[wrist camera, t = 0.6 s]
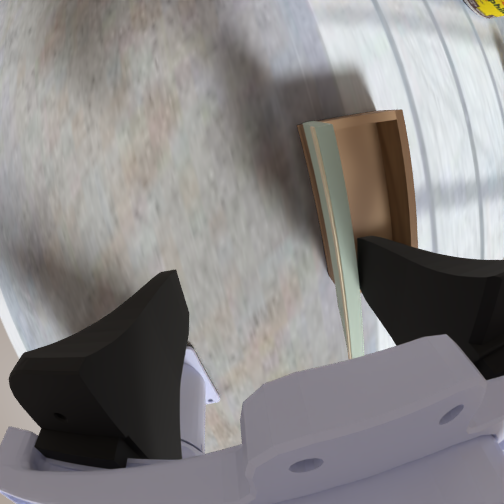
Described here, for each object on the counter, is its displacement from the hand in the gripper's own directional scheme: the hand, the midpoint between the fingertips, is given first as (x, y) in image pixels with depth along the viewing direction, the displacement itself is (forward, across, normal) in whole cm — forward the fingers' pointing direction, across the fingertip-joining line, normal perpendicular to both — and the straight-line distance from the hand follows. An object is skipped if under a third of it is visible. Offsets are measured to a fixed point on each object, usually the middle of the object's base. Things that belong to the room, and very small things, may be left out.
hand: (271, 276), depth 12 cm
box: (+11, -8, 0) cm, 13 cm away
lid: (+3, -4, +1) cm, 5 cm away
